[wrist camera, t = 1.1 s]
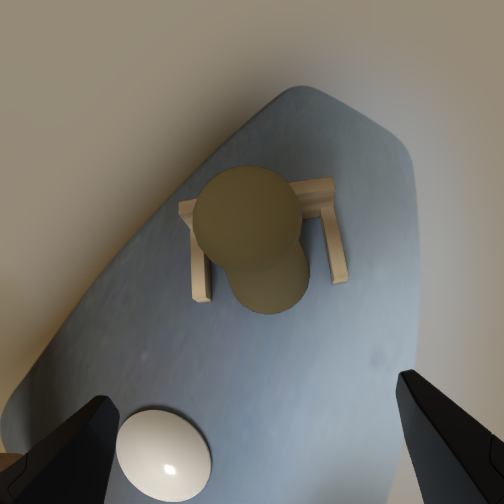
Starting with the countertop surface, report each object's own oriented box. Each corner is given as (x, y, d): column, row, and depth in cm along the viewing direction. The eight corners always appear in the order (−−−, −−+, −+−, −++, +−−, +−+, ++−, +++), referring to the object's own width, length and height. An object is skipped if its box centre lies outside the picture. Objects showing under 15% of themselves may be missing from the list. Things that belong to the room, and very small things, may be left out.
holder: (345, 282, 22) (353, 265, 19) (199, 302, 24) (179, 290, 20) (329, 204, 25) (332, 176, 21) (196, 225, 26) (178, 202, 22)
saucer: (227, 491, 18) (226, 493, 18) (140, 504, 18) (138, 505, 18) (188, 398, 21) (186, 398, 21) (106, 420, 21) (103, 420, 21)
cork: (321, 251, 24) (329, 163, 13) (292, 326, 22) (280, 290, 12) (248, 226, 25) (210, 136, 15) (216, 296, 24) (150, 241, 13)
